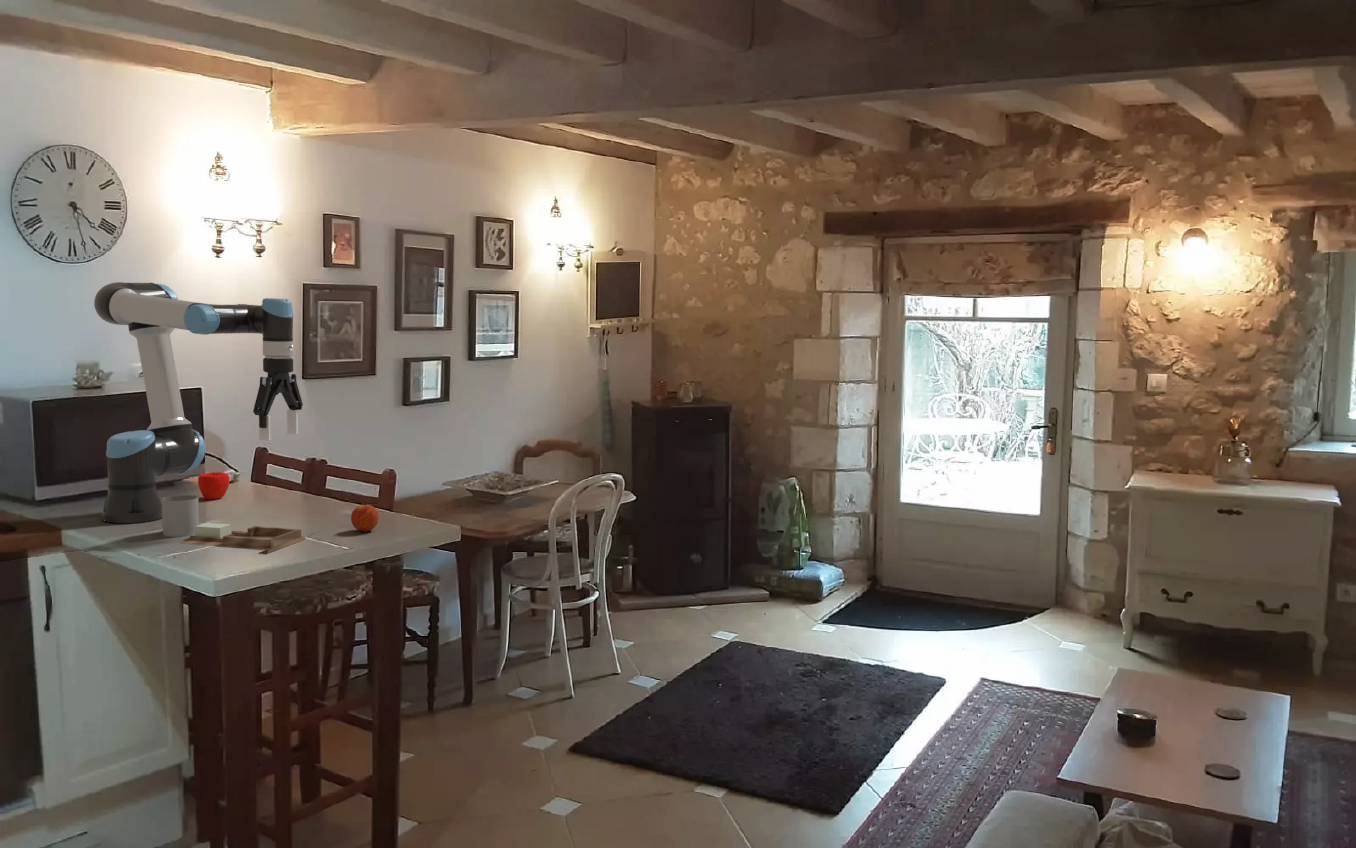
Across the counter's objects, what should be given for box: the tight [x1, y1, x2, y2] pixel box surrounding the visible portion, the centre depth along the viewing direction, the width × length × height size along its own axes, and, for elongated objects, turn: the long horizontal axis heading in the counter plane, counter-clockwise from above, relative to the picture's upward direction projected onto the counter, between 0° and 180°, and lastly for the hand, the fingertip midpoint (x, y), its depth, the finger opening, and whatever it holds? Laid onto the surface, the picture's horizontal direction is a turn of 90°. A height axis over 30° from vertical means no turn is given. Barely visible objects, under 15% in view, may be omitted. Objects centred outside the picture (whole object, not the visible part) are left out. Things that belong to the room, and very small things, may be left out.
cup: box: [161, 494, 200, 538], centre depth 274 cm, size 8×8×10 cm
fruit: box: [350, 500, 380, 533], centre depth 285 cm, size 7×7×8 cm
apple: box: [197, 471, 230, 501], centre depth 326 cm, size 9×9×8 cm
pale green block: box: [194, 522, 232, 538], centre depth 270 cm, size 7×4×3 cm, turn 77°
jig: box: [180, 525, 306, 555], centre depth 268 cm, size 24×16×3 cm, turn 77°
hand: (279, 437), depth 289 cm, fingers open, 13 cm apart
